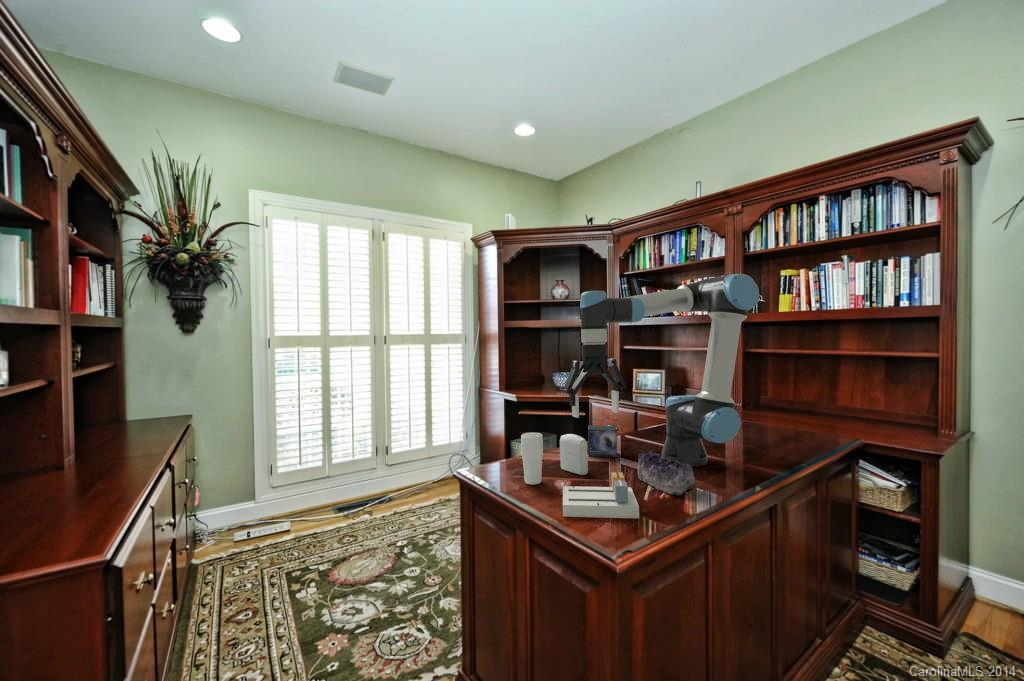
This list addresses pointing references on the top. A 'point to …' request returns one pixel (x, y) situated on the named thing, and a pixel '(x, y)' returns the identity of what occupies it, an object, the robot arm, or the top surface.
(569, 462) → the white slotted device
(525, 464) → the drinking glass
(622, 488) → the slate fader
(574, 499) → the fader console
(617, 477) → the orange fader
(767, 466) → the top surface
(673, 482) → the geode
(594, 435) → the small box
